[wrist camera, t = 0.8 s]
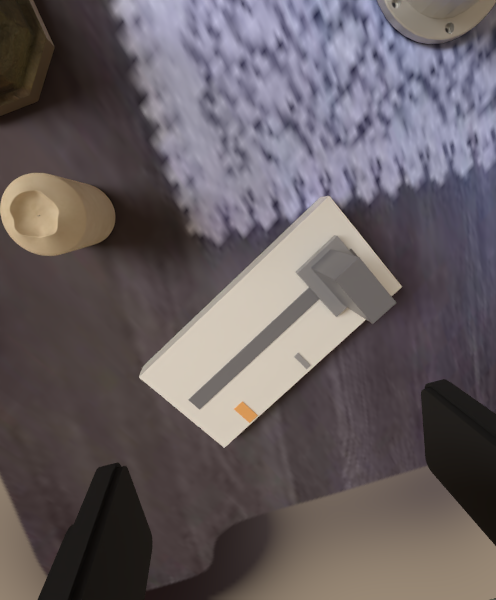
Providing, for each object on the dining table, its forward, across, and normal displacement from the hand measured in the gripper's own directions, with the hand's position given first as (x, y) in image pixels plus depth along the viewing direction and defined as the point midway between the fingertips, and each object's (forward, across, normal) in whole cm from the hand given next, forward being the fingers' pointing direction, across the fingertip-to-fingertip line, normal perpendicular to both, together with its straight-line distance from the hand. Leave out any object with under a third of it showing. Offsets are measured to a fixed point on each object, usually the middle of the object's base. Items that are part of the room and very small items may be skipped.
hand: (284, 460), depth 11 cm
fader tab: (+23, -10, +1) cm, 25 cm away
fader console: (+26, -3, +5) cm, 26 cm away
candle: (+26, +11, -9) cm, 30 cm away
